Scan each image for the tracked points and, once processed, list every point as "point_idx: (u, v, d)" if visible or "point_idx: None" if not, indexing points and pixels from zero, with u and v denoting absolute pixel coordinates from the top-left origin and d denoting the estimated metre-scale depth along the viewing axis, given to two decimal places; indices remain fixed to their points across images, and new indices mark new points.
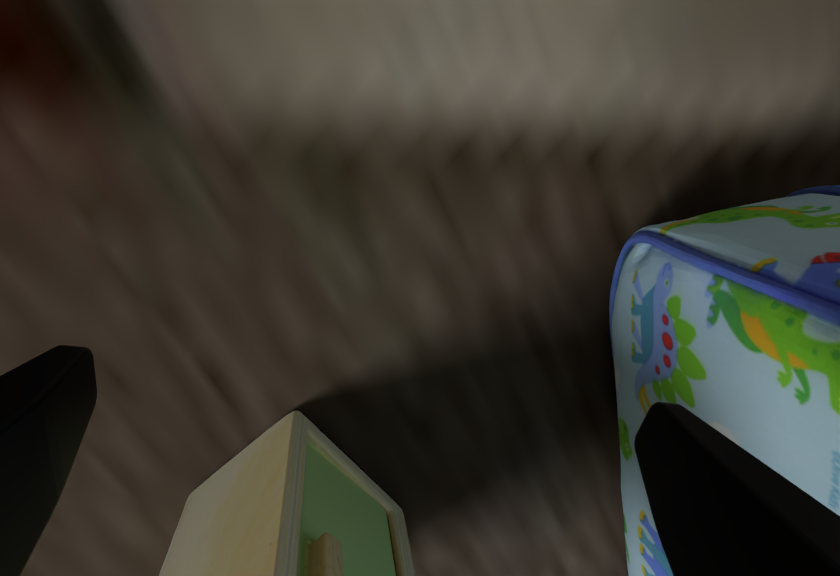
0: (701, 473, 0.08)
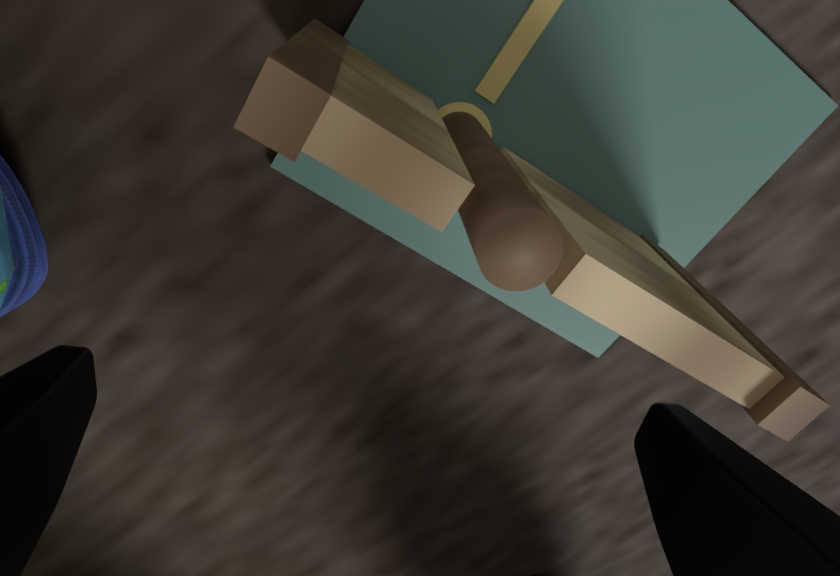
0: (701, 473, 0.08)
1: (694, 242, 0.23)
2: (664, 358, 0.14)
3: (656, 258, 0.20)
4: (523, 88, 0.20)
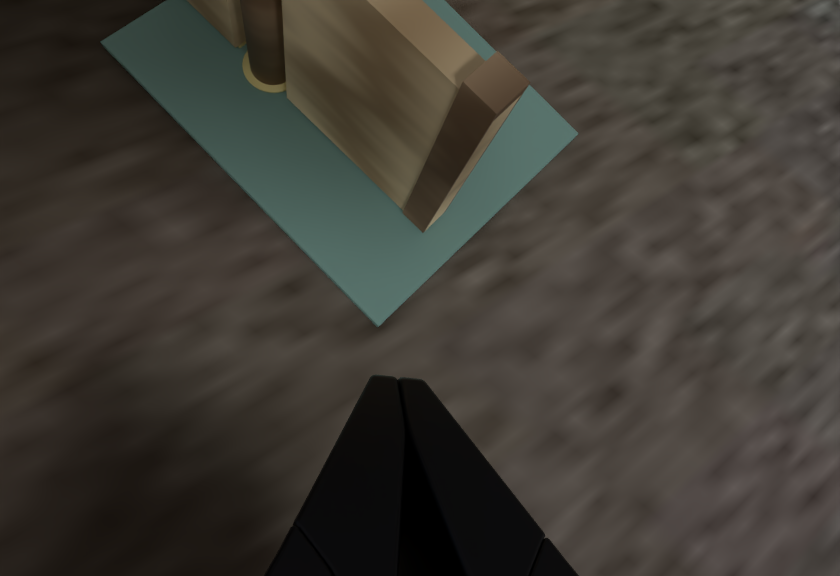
0: (405, 452, 0.08)
1: (475, 217, 0.25)
2: (374, 5, 0.15)
3: None
4: None
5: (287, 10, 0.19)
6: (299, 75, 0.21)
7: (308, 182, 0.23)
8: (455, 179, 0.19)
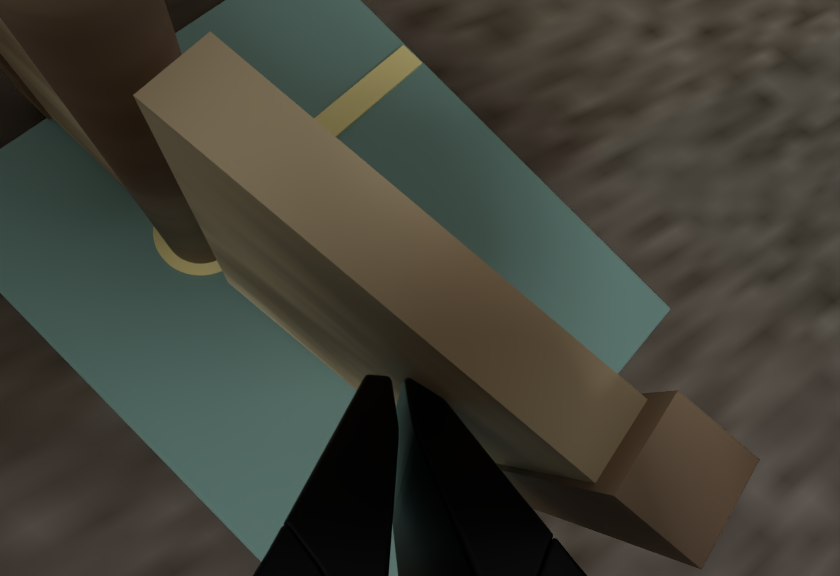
0: (411, 452, 0.08)
1: None
2: (379, 297, 0.07)
3: None
4: None
5: (201, 216, 0.10)
6: (242, 279, 0.13)
7: (258, 427, 0.15)
8: (541, 510, 0.10)
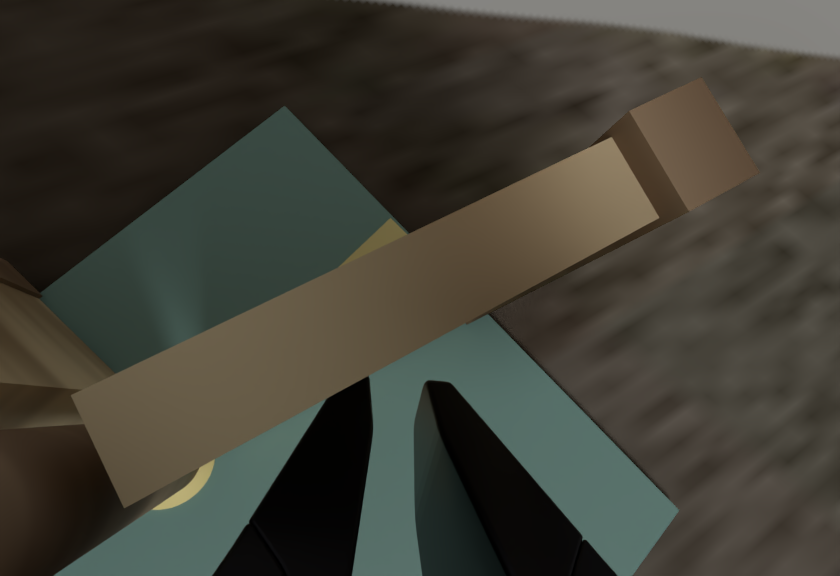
0: (437, 454, 0.08)
1: None
2: (442, 331, 0.06)
3: None
4: None
5: None
6: None
7: None
8: None
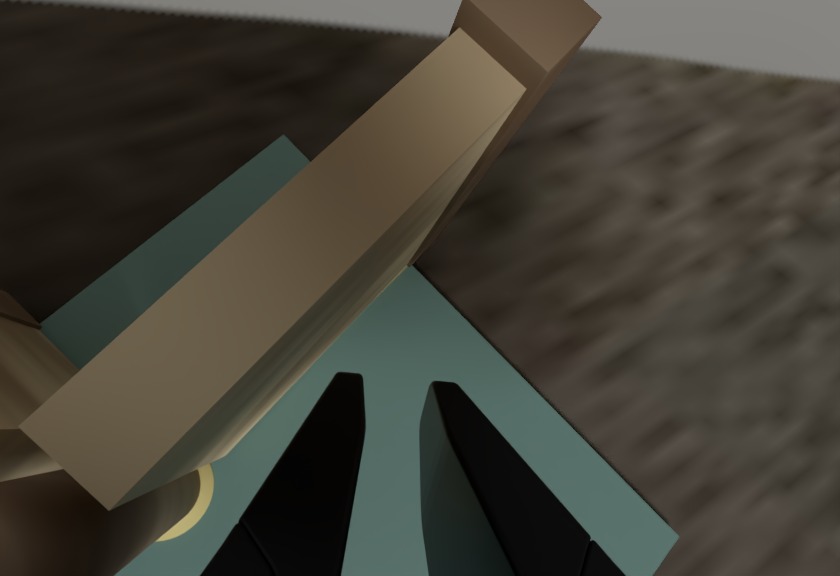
0: (444, 455, 0.08)
1: None
2: (357, 254, 0.07)
3: None
4: (269, 435, 0.15)
5: (193, 463, 0.09)
6: (238, 432, 0.12)
7: None
8: (496, 157, 0.11)
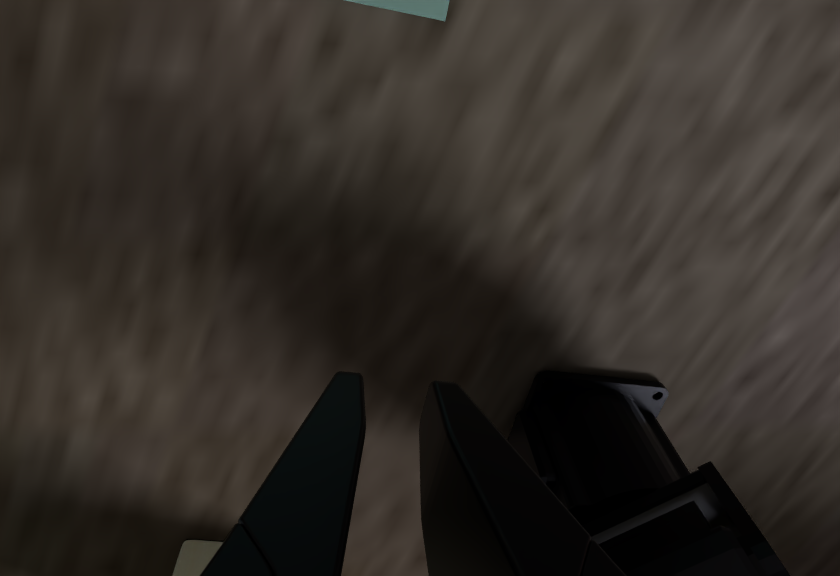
0: (444, 455, 0.08)
1: None
2: None
3: None
4: None
5: None
6: None
7: None
8: None
